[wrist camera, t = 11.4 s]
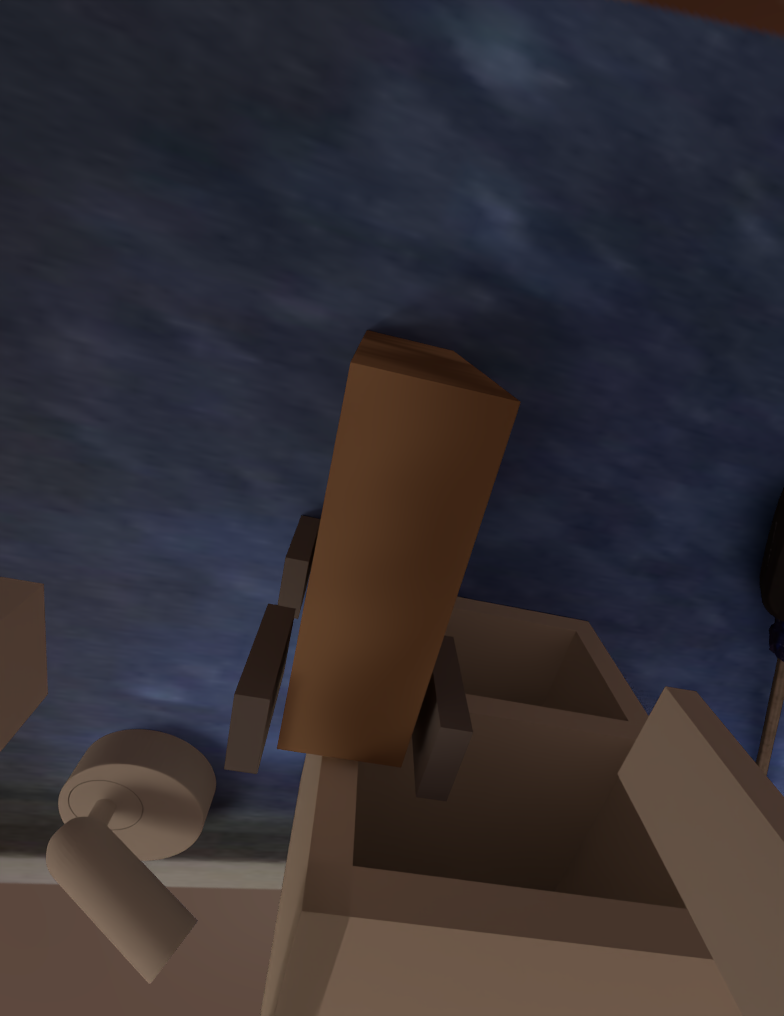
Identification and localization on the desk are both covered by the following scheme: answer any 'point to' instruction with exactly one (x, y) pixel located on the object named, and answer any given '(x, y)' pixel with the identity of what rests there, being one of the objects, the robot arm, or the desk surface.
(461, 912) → the cabinet
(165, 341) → the desk surface
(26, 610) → the robot arm
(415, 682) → the door
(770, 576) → the screwdriver
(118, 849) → the wall hook
